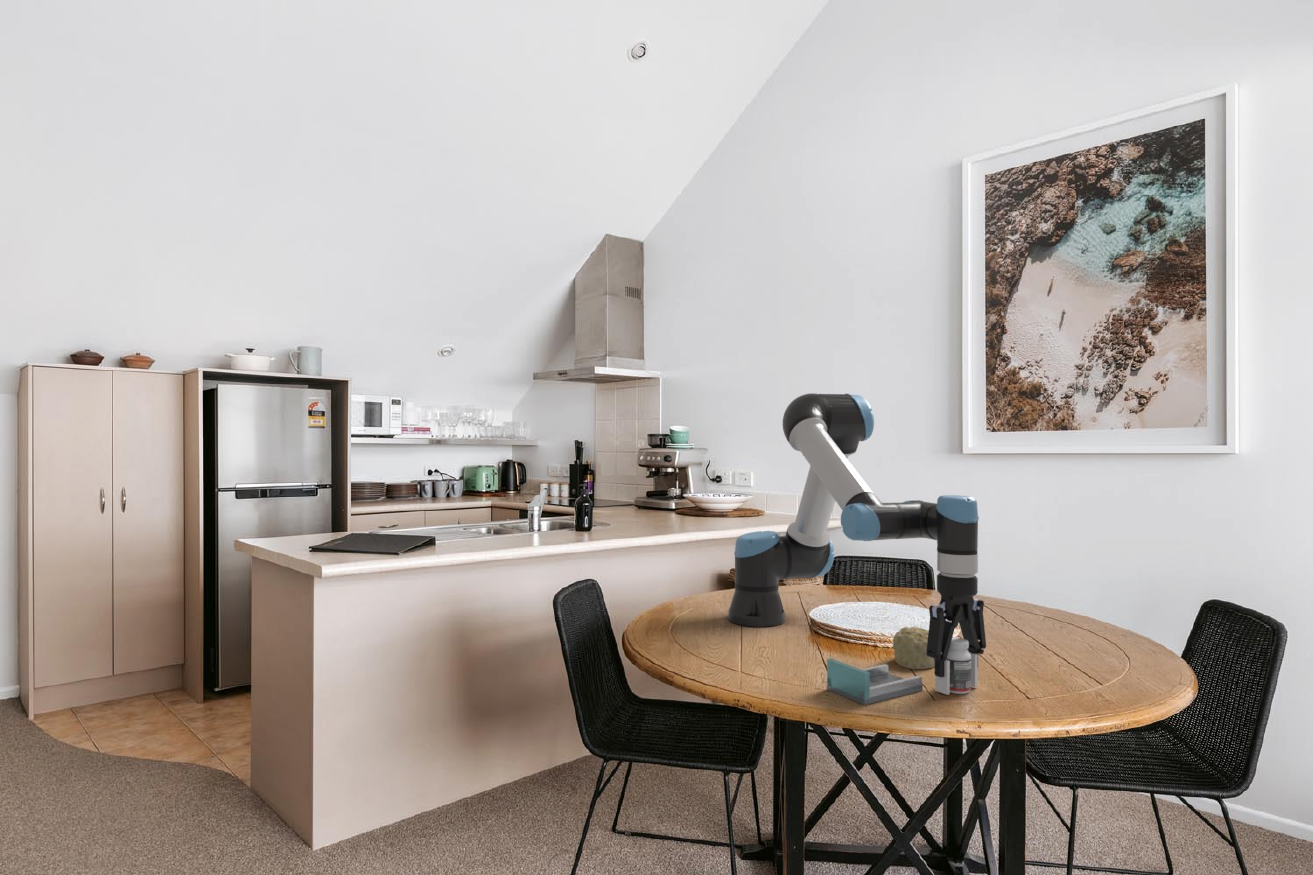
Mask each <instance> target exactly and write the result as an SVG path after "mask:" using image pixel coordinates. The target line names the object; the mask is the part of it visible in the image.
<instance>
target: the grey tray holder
mask: <svg viewBox="0 0 1313 875" xmlns="http://www.w3.org/2000/svg"><path fill="white" fill-rule="evenodd" d="M826 677H827V678H826V690H828V691H830V692H832V693H835V694H836V695H839V696H842V697H844V698H846V699H848V700H851V701H852V702H856V703H859V704H860V705H863V706H868V705H872V704H876V703H879V702H880V703H881V702H883V701H887V700H891V699H895V698H900V697H903V696H906V695H910V694H914V693H918V692H922V691H923V689H924V688H923V686H924V685H923V684H922V683H923V682H922V681H923V677H922V676H920V675H915V676H910V677H906V678H903V677H901V676H899V675H895V674H893V673H889V664H886V663H885V664H879V665H875V666H871V667H866V668H860V667H859V668H858V667H856V666H853V665H851V664H848V663H845V662H842V661H839V660H836V659H835V658H827V660H826Z"/></svg>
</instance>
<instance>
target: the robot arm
mask: <svg viewBox="0 0 1313 875" xmlns="http://www.w3.org/2000/svg"><path fill="white" fill-rule="evenodd" d="M874 416H875V415H874V412H873V409H872V407H871V405H870V403H869V401H868V400H867V399H866V398H865V397H863V396H862V395H860V394H850V393H840V394H839V393H814V392H813V393H805V394H802V395H800V396H798V397H795V399H793V400H792V401H791V402H790V403H789V404H788V406H787V407H786V409H785V410H784V413H783V416H782V430H783V434H784V437H785V439H786V441H787V443H788V444H789V445H790V447H791V448H792V449H793V450H795V451H797V452H800V453H801V454H802V456H803V457H804V459H805V460H806V461H807V463H808V464H809V465H810V466H809V469H808V472H807V477H806V481H805V484H804V488H803V491H802V495H801V499H800V502H799V506H798V510H797V513H796V517H795V521H794V522H792V523H789V525H788V526H787V529H786V531H785V532H786V533H785V535H779V533H778V532H776V531H774V530H773V531H772V530H764V531H762V530H758V531H751V532H748V533H744V534H741V535H739V536H738V538H736V541H735V544H734V545H735V548H734V553H733V554H734V592H733V596H732V598H731V602H730V607H729V608H728V612H727V616H728V618H727V619H728V621H729V622H731V623H733V624H736V625H741V626H745V627H746V626H747V627H754V628H755V627H757V628H758V627H762V628H763V627H764V628H765V627H775V626H778V625H779V626H780V625H782V624H784V623H785V621H786V619H785V618H786V612H785V609H784V606H783V603H782V599H781V595H780V592H779V582H780V580H781V581H782V580H795V579H796V580H797V579H813V578H818V577H822V576H824V575H826V574H827V573H828V572H829V571H830V570H831V568H832V566H833V563H834V561H835V560H834V559H835V554H834V553H833V552H834V551H835V548H834V544H833V542H832V540H831V538H830V534H829V532H828V531H827V530H828V526H829V523H830V521H831V520H830V519H831V516H832V513H833V510H834V506H835V503H837V505H838V506H839V507H840V509H841V510H842V512H841V514H840V525H841V527H842V532H843V534H844V535H845V537H847V538H848V539H849V540H852V541H858V542H859V541H861V542H862V541H863V542H871V541H872V542H873V541H881V540H882V541H887V540H901V539H902V540H903V539H905V540H906V539H928V540H934V541H936V546H937V547H936V552H937V556H936V557H937V560H936V561H937V562H936V563H937V564H936V566H937V567H936V570H937V571H938V574H937V575H936V591H937V592H938V593H939V595H940V601H939V604H938V605H936V606H935V605H930V606H929V607H928V611H929V613H928V614H929V624H928V625H929V626H928V630H929V633H928V642H927V651H926V655H927V656H929V657H932V658H934V661H935V666H934V667H933V668H934V676H935V692H937V693H941V694H944V695H946V696H947V695H950V694H951V693H950V661H949V660H946V659H947V656H948V652H949V648H950V644H951V640H952V637H954V636H953V635H954V632H955V629H956V628H958V626H959V628H960V631H961V635H962V639H965V640H967V641H968V642H969V648H968V649H967V651H968V652H969V653H970V654H971V688H972V687H973V688H978V683H979V682H978V668H979V655H983V654H984V652H985V650H984V649H986V647H987V642H986V640H987V639H986V632H985V628H986V627H985V618H984V605H985V602H984V600H982V599H977V598H974V597H975V596H977V595H978V591H979V590H978V589H979V588H978V583H979V582H978V580H979V579H978V576H976V574H978V573H979V560H978V558H979V553H978V550H979V549H978V545H979V544H978V543H979V542H978V541H979V540H978V538H979V536H978V535H979V528H978V527H979V514H978V502H977V499H976V498H975V497H973V496H969V495H958V494H957V495H955V494H951V495H950V494H948V495H947V494H946V495H945V494H944V495H939V496H938V497H937V501H936V503H934V502H929V501H923V500H916V499H915V500H905V501H903V502H882V501H881V500H880V498H878V497H877V496H876V494H875V493H874V492H873V490H872V489H871V488H870V486H869V485H868V484H867V483H866V481H865V480H864V479H863V477H862V476H861V475H860V473H859V472H858V471H857V469H856V468H855V467H854V466H853V464H852V463H851V461H850V460H849V457H850V456H851V455H854V454H856V452H857V450H858V447H859V444H860V442H864V441H867V440H868V439H870V438H871V436H872V434H873V432H874V426H875V419H874V418H875V417H874ZM941 652H942V654H941Z"/></svg>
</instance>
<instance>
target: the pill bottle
mask: <svg viewBox="0 0 1313 875" xmlns="http://www.w3.org/2000/svg"><path fill="white" fill-rule="evenodd" d="M968 648H969V642H968V641H967V640H965V639H964V638H963V637H957V636H953V637H952V640H951V644H950V648H949V652H948V656H947V659H946V660H949V661H950V694H957V695H965V694H969V693H970V692H971V690H972V686H971V654H970V653H969V652H968V650H967V649H968ZM941 654H942V652H941Z"/></svg>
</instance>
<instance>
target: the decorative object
mask: <svg viewBox="0 0 1313 875" xmlns="http://www.w3.org/2000/svg"><path fill="white" fill-rule="evenodd" d="M928 633H929V629H924V628H923V627H917V626H912V627H909V626H904V627H902V628H900V629H899V631H897V632H896V633H895V634H894V635H893V639H892V648H893V650H894V652H893V653H894V660H895V662H896V663H897V665H899V666H901V667H904V668H907V669H910V670H911V669H912V670H925V669H933V668H934V666H935V661H934V658H932V657H929V656H927V655H926V651H927V642H928Z"/></svg>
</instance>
